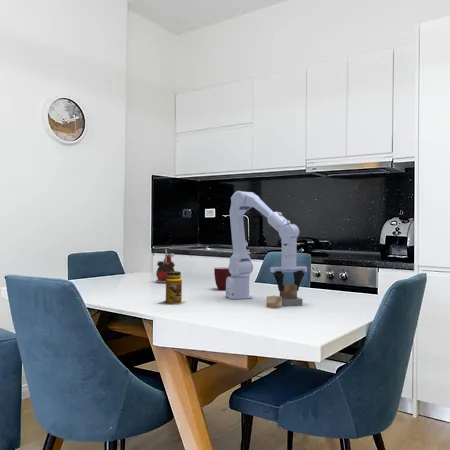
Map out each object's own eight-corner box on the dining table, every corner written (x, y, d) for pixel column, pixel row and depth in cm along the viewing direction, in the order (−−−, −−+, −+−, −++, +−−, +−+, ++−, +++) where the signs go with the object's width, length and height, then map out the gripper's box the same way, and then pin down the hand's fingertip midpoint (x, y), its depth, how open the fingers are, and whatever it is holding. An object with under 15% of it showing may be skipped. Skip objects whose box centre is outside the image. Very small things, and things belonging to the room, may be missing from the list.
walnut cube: (285, 298, 177) (285, 285, 177) (279, 296, 182) (279, 283, 182) (297, 298, 178) (297, 285, 178) (291, 296, 183) (291, 283, 183)
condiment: (178, 305, 175) (178, 273, 175) (157, 303, 178) (157, 272, 178) (185, 302, 182) (185, 271, 182) (165, 300, 185) (165, 270, 185)
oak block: (273, 308, 170) (273, 297, 170) (266, 307, 173) (266, 296, 173) (281, 307, 172) (281, 296, 172) (274, 306, 176) (274, 295, 176)
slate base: (283, 306, 175) (283, 299, 175) (274, 302, 183) (274, 296, 183) (302, 305, 177) (302, 298, 177) (293, 302, 185) (293, 295, 185)
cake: (151, 282, 240) (152, 247, 240) (164, 280, 247) (164, 246, 247) (167, 284, 234) (167, 248, 234) (179, 282, 241) (179, 247, 241)
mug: (207, 288, 220) (208, 267, 220) (221, 287, 225) (221, 266, 225) (220, 291, 211) (220, 269, 211) (234, 290, 216) (235, 268, 216)
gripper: (275, 256, 174) (275, 292, 174) (310, 256, 178) (310, 291, 178) (268, 255, 181) (267, 290, 181) (302, 254, 185) (302, 289, 185)
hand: (288, 290), depth 180 cm, fingers open, 6 cm apart
